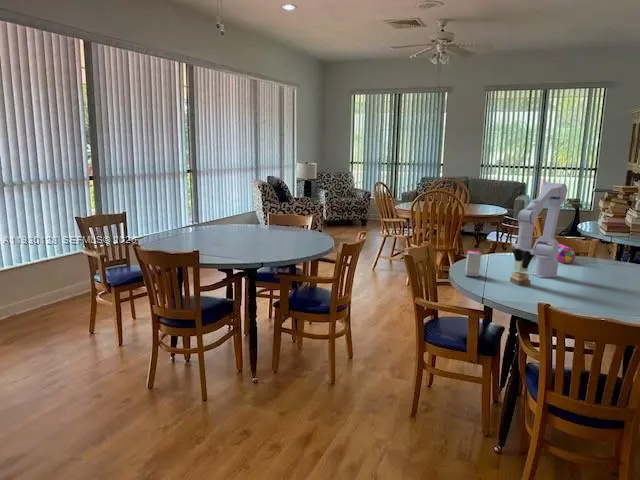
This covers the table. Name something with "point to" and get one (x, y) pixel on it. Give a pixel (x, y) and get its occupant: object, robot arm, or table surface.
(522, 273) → the tower mid
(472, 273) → the supplement box
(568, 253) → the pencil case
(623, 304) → the table surface
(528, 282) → the tower base
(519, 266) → the top block
